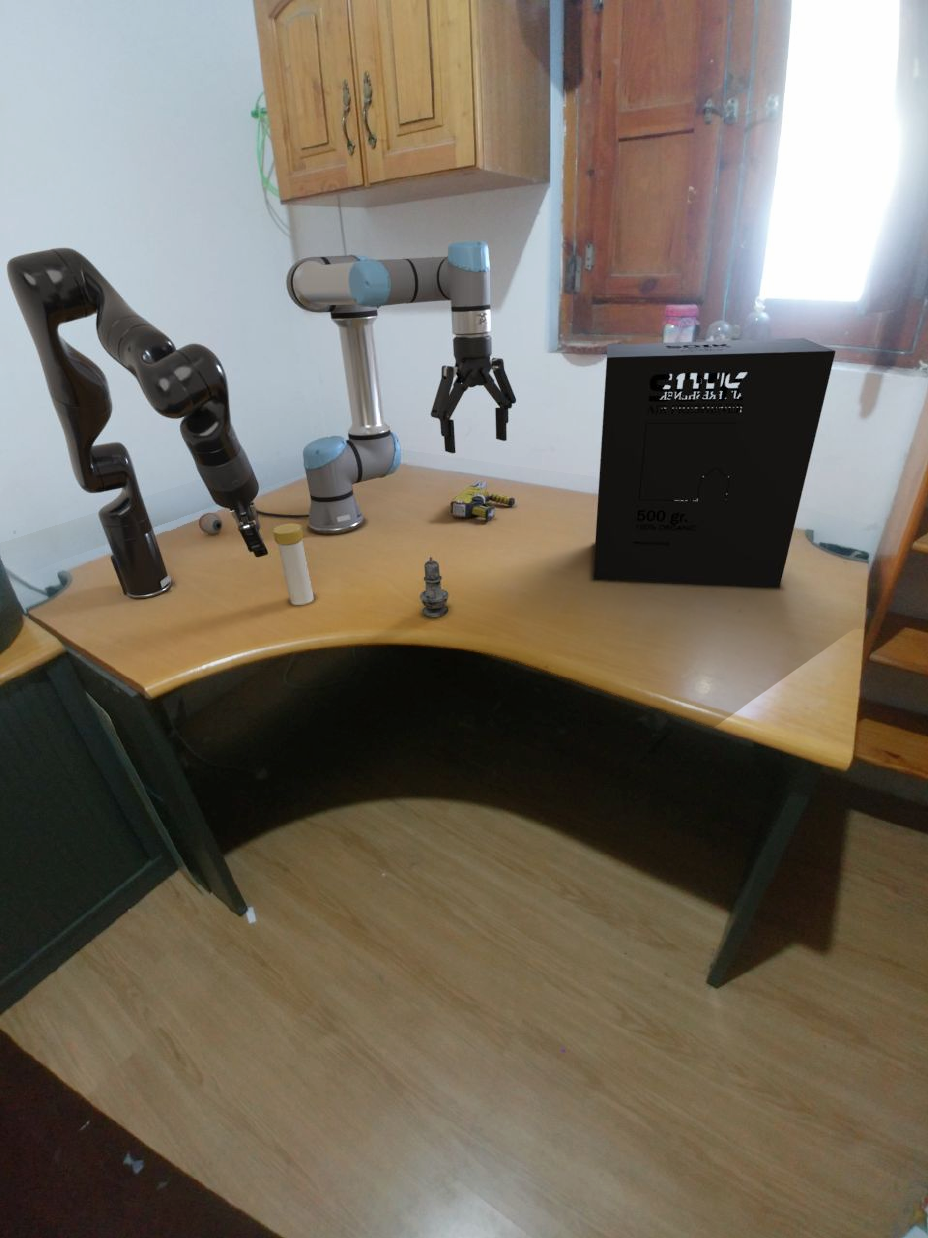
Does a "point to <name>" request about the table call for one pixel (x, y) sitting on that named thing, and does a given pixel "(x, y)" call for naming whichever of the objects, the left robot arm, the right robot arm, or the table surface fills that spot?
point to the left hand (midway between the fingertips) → (257, 536)
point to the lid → (288, 534)
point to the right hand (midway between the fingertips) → (476, 445)
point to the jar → (296, 573)
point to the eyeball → (210, 523)
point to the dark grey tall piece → (433, 591)
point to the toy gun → (477, 502)
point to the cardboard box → (706, 459)
